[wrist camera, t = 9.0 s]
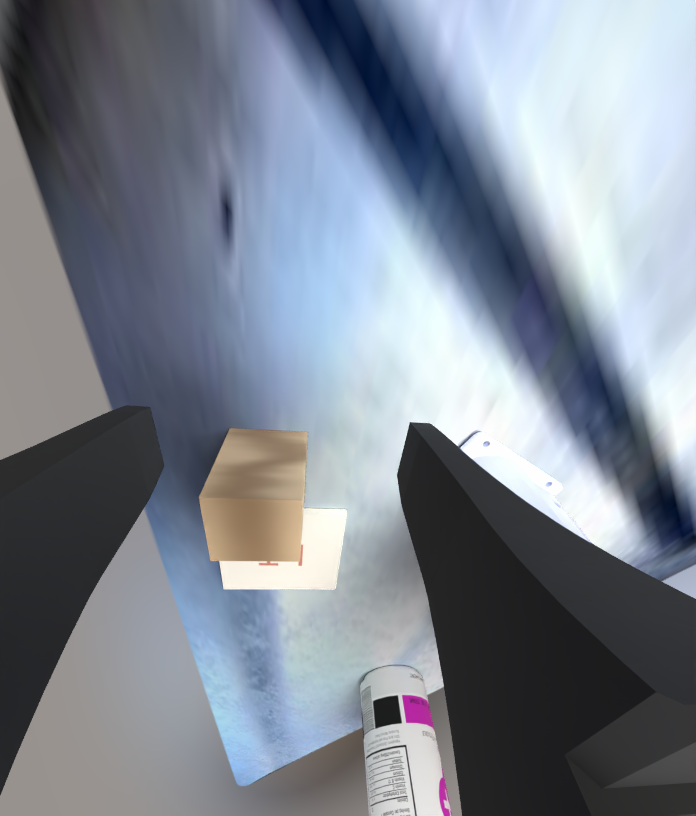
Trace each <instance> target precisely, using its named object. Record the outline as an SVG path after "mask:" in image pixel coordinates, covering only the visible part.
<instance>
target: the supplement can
mask: <svg viewBox="0 0 696 816" xmlns="http://www.w3.org/2000/svg"><path fill="white" fill-rule="evenodd" d="M360 695H361V709H362V723H363V735H364V736H363V737H364V751H365V765H366V779H367V792H368V807H369V816H452V812H451V808H450V803H449V798H448V793H447V789H446V784H445V779H444V774H443V769H442V765H441V760H440V755H439V750H438V746H437V742H436V736H435V732H434V727H433V722H432V717H431V712H430V707H429V703H428V698H427V693H426V688H425V684H424V680H423V677H422V676H421V675H420V674H418V673H417V671H416V670H415V669H413V668H411V667H407V666H399V665H393V666H385V667H381V668H378V669H375V670H373V671H371V672H369V673H368V674H367V675H366V676H365V678H364V681H363V682H362V683H361V686H360Z"/></svg>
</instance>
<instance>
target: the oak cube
mask: <svg viewBox="0 0 696 816" xmlns="http://www.w3.org/2000/svg"><path fill="white" fill-rule="evenodd" d="M307 443H308V432H296V431H277V430H257V429H238V428H230V429H229V431H228V434H227V436H226V438H225V440H224V443H223V445H222V447H221V449H220V452H219V454H218V456H217V458H216V460H215V463H214V465H213V467H212V469H211V472H210V474H209V476H208V478H207V480H206V483H205V485H204V487H203V489H202V492H201V494H200V496H199V501H200V507H201V512H202V518H203V523H204V528H205V534H206V539H207V545H208V550H209V556H210V561H282V562H300V552H301V539H302V526H303V512H304V499H305V484H306V464H307Z"/></svg>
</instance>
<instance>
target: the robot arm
mask: <svg viewBox="0 0 696 816" xmlns="http://www.w3.org/2000/svg"><path fill="white" fill-rule="evenodd" d="M485 441H487V442H486V443H484V442H485ZM483 443H484V444H483ZM163 467H164V463H163V459H162V454H161V450H160V446H159V442H158V438H157V434H156V429H155V425H154V421H153V417H152V413H151V409H150V407H142V406H124V407H121V408H118V409H115V410H113V411H110V412H108V413H105V414H103V415H101V416H99V417H97V418H94V419H92V420H90V421H87V422H85V423H83V424H81V425H79V426H77V427H74V428H72V429H70V430H68V431H66V432H63V433H61V434H59V435H57V436H55V437H52V438H50V439H48V440H46V441H44V442H42V443H39V444H37V445H35V446H33V447H30V448H28V449H25V450H23V451H21V452H19V453H16V454H14V455H12V456H9V457H7V458H5V459H2V460H0V795H1V792H2V790H3V787H4V785H5V782H6V780H7V777H8V775H9V772H10V770H11V767H12V764H13V762H14V760H15V757H16V755H17V753H18V750H19V748H20V746H21V743H22V741H23V739H24V736H25V734H26V732H27V729H28V727H29V725H30V722H31V720H32V718H33V715H34V713H35V711H36V709H37V706H38V704H39V702H40V699H41V697H42V695H43V693H44V690H45V688H46V686H47V684H48V682H49V679H50V678H51V675H52V673H53V671H54V669H55V667H56V665H57V663H58V660H59V658H60V656H61V654H62V652H63V650H64V648H65V645H66V643H67V641H68V639H69V637H70V635H71V633H72V631H73V629H74V627H75V625H76V623H77V621H78V619H79V617H80V615H81V613H82V611H83V609H84V607H85V605H86V602H87V601H88V599H89V597H90V595H91V593H92V592H93V590H94V588H95V587H96V585H97V583H98V581H99V580H100V578H101V576H102V574H103V573H104V571H105V570H106V568H107V566H108V565H109V563H110V562H111V560H112V558H113V557H114V555H115V554H116V552H117V550H118V549H119V547H120V546H121V544H122V542H123V541H124V539H125V538H126V536H127V534H128V533H129V531H130V530H131V528H132V526H133V525H134V523H135V522H136V520H137V518H138V517H139V515H140V513H141V512H142V510H143V509H144V507H145V505H146V504H147V502H148V500H149V499H150V497H151V494H152V492H153V490H154V488H155V486H156V484H157V481H158V479H159V477H160V474H161V472H162V469H163ZM397 478H398V485H399V492H400V498H401V504H402V508H403V512H404V515H405V519H406V522H407V526H408V529H409V533H410V536H411V539H412V543H413V546H414V550H415V553H416V556H417V560H418V563H419V566H420V570H421V573H422V577H423V580H424V584H425V588H426V592H427V596H428V601H429V606H430V611H431V616H432V622H433V627H434V632H435V637H436V643H437V648H438V654H439V660H440V666H441V671H442V677H443V683H444V689H445V696H446V702H447V709H448V715H449V722H450V727H451V734H452V742H453V749H454V756H455V764H456V771H457V779H458V786H459V794H460V801H461V809H462V816H696V599H695V598H693V597H691V596H688V595H686V594H684V593H682V592H680V591H679V590H677V589H675V588H673V587H671V586H669V585H667V584H665V583H663V582H661V581H659V580H657V579H655V578H653V577H651V576H649V575H647V574H646V573H644V572H642V571H640V570H638V569H636V568H634V567H633V566H631V565H629V564H627V563H625V562H623V561H621V560H620V559H618V558H616V557H614V556H612V555H611V554H609V553H607V552H606V551H604V550H602V549H600V548H599V547H597V546H595V545H594V544H592V543H591V541H590V540H589V539H588V538H587V536H586V535H585V534H584V533H583V531H582V530H581V529H580V528H579V526H578V525H577V524H576V523H575V522H574V520H573V519H572V518H571V517H570V515H569V514H568V513H567V512H566V510H565V509H564V508H563V507H562V505H561V504H560V503H559V502H558V500H557V499H556V498H555V497H554V496H555V495H556V494H558V493H559V492H560V491H561V490H562V489H563V486H562V484H561V483H560V482H559V481H557V480H555V479H554V478H552V477H551V476H549V475H548V474H546V473H545V472H543V471H542V470H540V469H539V468H537V467H536V466H534V465H533V464H531V463H530V462H528V461H527V460H525V459H524V458H522V457H521V456H519V455H517V454H516V453H514V452H513V451H511V450H510V449H508V448H507V447H505V446H504V445H502V444H501V443H499V442H498V441H496V440H495V439H493V438H492V437H490V436H489V435H487V434H486V433H484V432H478V433H476V434H474V435H473V436H472V437H471V438H470V439H469V440H468V441H467V442H466V443H465V444H464V445H463V446H461V447H460V448H459V447H458V446H456V445H455V444H454V443H453V442H452V441H451V440H450V439H448V438H447V437H446V436H445V435H444V434H443V433H442V432H440V431H439V430H438V429H437V428H435V427H434V426H433V425H432V424H429V423H412V422H410V425H409V429H408V433H407V437H406V441H405V445H404V449H403V453H402V457H401V461H400V465H399V469H398V473H397Z"/></svg>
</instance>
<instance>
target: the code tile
mask: <svg viewBox="0 0 696 816" xmlns="http://www.w3.org/2000/svg"><path fill="white" fill-rule="evenodd" d="M346 518H347V510H346V509H319V508H304V512H303V526H302V539H301V552H300V562H282V561H219V562H220V569H221V575H222V581H223V588H224V589H301V590H336V583H337V577H338V570H339V563H340V557H341V550H342V544H343V537H344V531H345V524H346Z"/></svg>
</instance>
